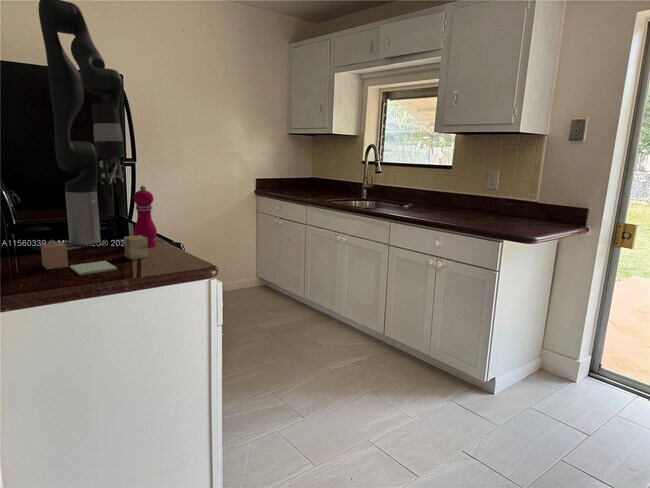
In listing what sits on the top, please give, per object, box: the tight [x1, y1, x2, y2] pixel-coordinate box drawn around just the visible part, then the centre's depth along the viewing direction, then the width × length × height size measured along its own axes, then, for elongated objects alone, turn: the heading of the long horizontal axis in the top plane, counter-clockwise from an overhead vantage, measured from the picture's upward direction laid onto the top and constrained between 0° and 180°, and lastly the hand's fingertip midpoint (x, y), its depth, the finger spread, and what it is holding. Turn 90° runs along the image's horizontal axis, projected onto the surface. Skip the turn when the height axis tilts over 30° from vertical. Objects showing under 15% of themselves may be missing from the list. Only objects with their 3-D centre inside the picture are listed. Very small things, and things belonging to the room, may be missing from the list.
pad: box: [69, 260, 118, 276], centre depth 119 cm, size 9×9×1 cm
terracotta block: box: [40, 241, 69, 271], centre depth 120 cm, size 5×5×6 cm
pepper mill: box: [132, 185, 158, 248], centre depth 146 cm, size 7×7×20 cm
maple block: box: [123, 235, 149, 261], centre depth 133 cm, size 5×5×6 cm
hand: (114, 196), depth 132 cm, fingers open, 8 cm apart
